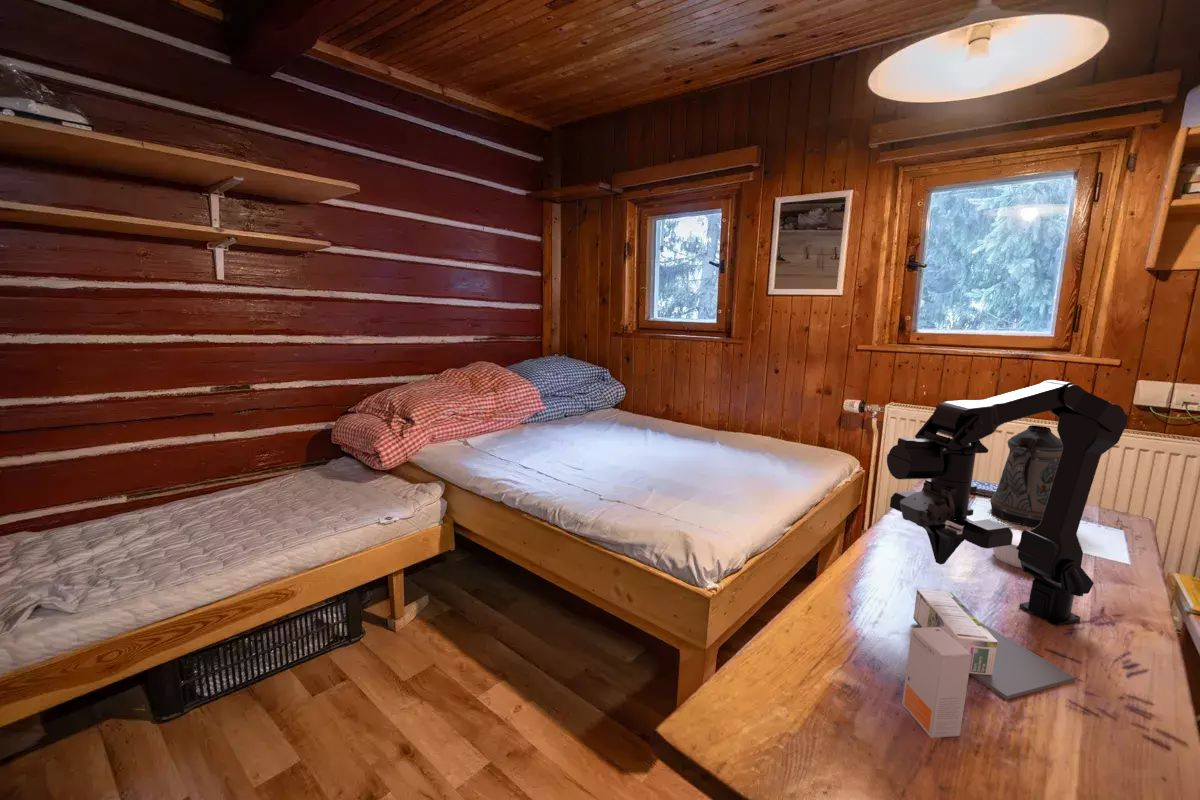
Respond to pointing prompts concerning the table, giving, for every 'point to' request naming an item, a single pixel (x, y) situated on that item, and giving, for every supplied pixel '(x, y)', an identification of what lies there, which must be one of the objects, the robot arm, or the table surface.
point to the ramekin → (1010, 550)
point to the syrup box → (957, 627)
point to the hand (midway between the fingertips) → (939, 563)
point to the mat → (1020, 670)
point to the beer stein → (1027, 476)
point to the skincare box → (936, 681)
